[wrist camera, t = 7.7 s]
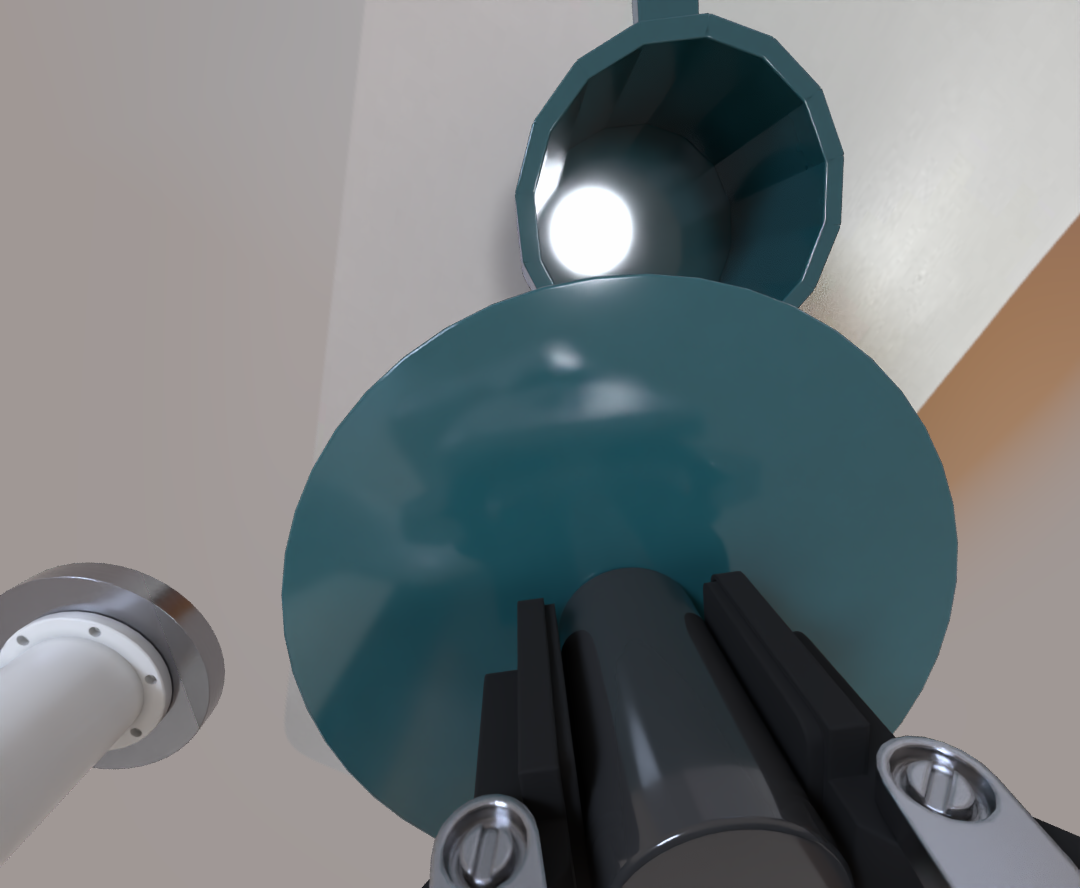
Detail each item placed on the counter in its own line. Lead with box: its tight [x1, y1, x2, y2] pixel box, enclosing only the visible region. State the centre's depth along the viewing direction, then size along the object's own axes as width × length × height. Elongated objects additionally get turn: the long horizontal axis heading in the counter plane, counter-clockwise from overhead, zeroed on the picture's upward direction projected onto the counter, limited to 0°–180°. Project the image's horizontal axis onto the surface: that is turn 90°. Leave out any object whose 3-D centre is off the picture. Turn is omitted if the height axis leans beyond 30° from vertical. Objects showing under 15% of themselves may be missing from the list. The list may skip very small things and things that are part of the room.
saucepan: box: [515, 0, 844, 308], centre depth 26 cm, size 14×19×10 cm
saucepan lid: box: [282, 273, 958, 888], centre depth 9 cm, size 15×15×7 cm
